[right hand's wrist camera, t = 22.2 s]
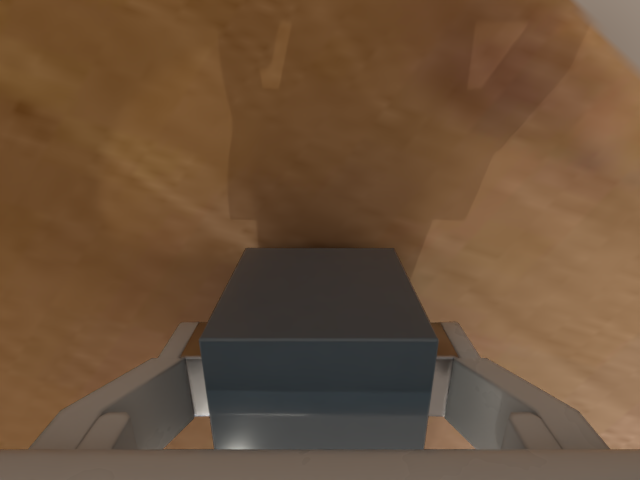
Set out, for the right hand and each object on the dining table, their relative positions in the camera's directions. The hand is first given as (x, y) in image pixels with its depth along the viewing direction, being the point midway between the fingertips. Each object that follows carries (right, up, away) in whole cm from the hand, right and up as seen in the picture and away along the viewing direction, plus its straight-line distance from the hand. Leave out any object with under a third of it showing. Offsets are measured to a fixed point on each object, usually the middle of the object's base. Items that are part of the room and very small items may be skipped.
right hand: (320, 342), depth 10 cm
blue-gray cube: (0, +1, +2) cm, 2 cm away
